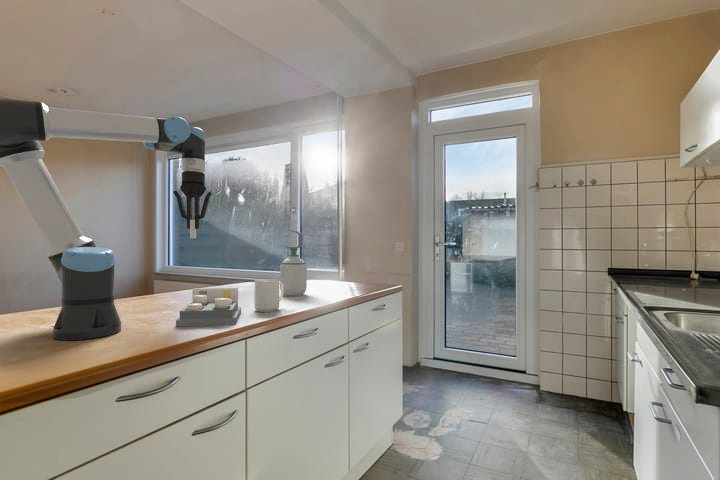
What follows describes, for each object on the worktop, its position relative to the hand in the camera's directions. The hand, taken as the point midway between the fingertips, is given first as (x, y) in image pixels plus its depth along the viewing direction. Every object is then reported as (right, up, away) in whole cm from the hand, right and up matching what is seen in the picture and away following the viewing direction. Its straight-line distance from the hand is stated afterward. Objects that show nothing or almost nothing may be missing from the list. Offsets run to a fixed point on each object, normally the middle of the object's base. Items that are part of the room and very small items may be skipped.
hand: (193, 238), depth 133 cm
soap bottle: (+28, -27, +43) cm, 58 cm away
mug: (+26, -27, +6) cm, 38 cm away
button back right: (+14, -24, -8) cm, 29 cm away
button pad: (+11, -27, -11) cm, 31 cm away
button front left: (+8, -24, -18) cm, 31 cm away
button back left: (+7, -22, -10) cm, 25 cm away
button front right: (+16, -22, -16) cm, 32 cm away
